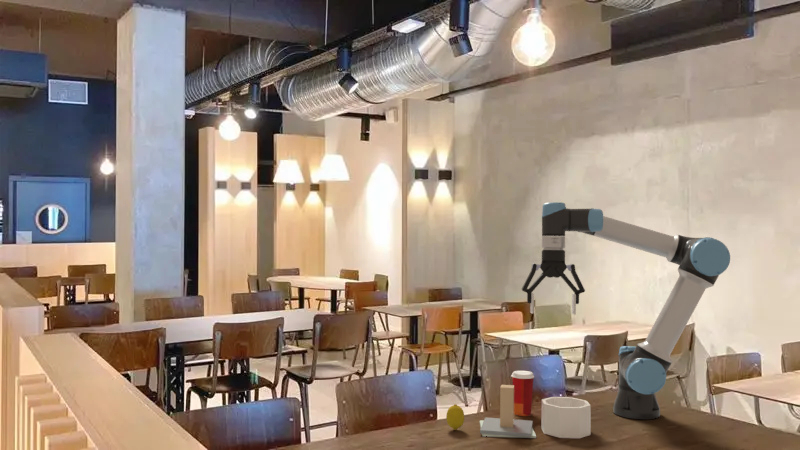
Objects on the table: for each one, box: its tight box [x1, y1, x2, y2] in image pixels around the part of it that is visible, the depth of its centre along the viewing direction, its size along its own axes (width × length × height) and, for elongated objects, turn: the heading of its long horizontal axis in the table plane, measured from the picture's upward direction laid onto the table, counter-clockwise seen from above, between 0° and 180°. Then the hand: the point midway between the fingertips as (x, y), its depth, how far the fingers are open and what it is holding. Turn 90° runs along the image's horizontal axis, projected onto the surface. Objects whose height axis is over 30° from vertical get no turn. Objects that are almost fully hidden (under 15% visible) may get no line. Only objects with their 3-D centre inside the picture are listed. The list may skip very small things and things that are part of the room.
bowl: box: [540, 396, 592, 439], centre depth 215 cm, size 14×14×9 cm
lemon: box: [445, 403, 465, 431], centre depth 215 cm, size 6×6×8 cm
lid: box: [479, 384, 534, 437], centre depth 215 cm, size 15×15×13 cm
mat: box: [479, 419, 537, 439], centre depth 216 cm, size 16×16×1 cm
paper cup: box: [510, 370, 535, 417], centre depth 236 cm, size 8×8×14 cm
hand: (552, 313), depth 229 cm, fingers open, 13 cm apart
